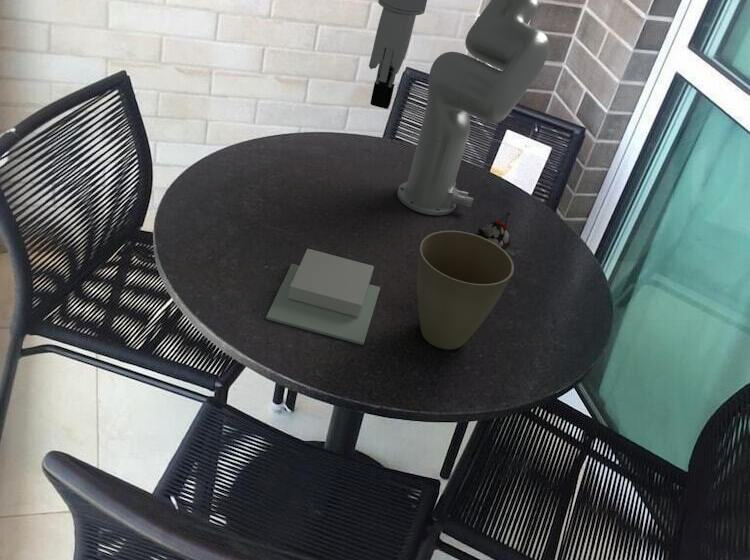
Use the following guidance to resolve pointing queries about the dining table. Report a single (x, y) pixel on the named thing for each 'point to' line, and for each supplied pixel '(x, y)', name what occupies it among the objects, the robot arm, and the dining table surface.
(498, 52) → the robot arm
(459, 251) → the plant pot
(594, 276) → the dining table surface
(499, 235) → the sundae
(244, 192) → the dining table surface
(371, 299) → the mat
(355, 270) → the tile
